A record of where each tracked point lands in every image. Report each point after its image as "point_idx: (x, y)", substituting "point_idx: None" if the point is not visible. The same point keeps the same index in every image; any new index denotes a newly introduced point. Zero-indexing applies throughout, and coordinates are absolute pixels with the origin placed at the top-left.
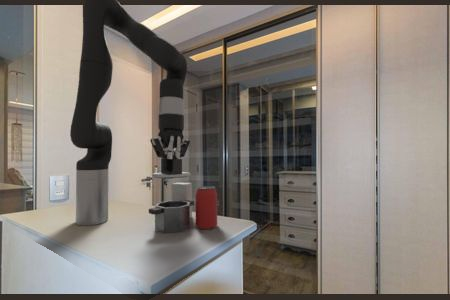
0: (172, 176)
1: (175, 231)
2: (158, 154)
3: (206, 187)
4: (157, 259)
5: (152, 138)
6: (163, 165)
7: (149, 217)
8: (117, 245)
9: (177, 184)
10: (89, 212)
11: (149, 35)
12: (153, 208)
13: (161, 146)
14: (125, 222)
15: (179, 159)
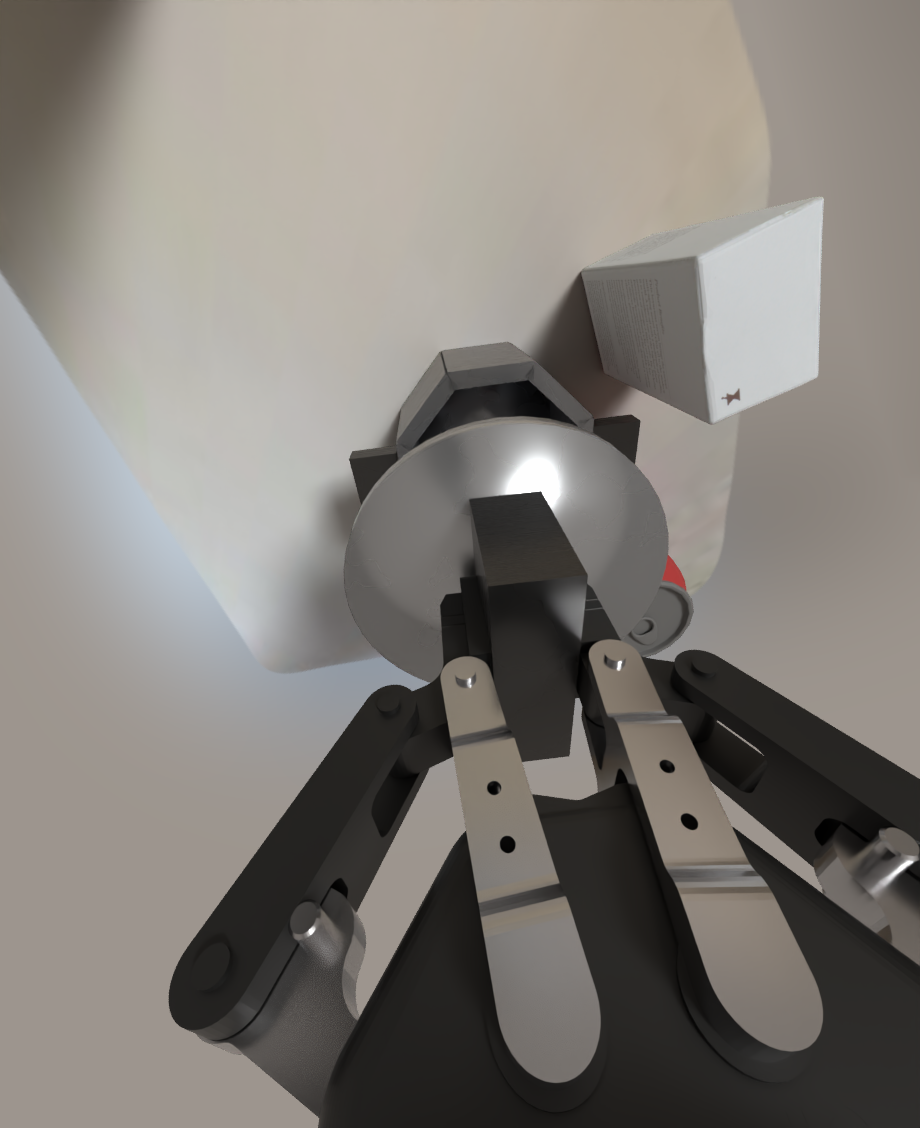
0: (431, 675)
1: None
2: (371, 732)
3: (646, 619)
4: (308, 616)
5: (199, 1034)
6: (441, 626)
7: (502, 97)
8: (224, 459)
9: (700, 335)
10: None
11: None
12: (372, 470)
13: (363, 884)
14: (320, 79)
15: (535, 756)
